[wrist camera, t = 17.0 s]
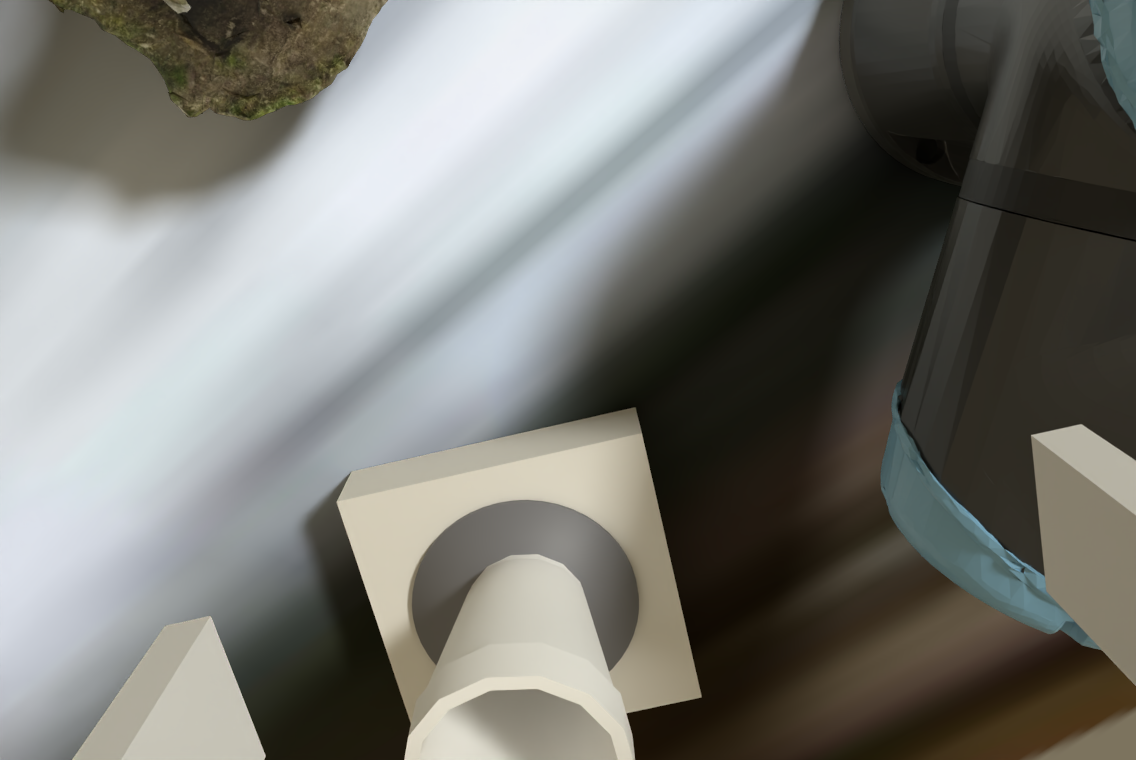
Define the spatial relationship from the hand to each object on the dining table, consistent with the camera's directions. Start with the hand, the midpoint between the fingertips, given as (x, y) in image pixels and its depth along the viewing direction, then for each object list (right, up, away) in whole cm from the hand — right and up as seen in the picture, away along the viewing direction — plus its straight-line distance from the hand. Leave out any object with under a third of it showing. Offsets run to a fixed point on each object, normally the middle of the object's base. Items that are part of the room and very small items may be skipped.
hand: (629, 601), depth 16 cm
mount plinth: (-3, -7, +41) cm, 41 cm away
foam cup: (-3, -8, +37) cm, 38 cm away
